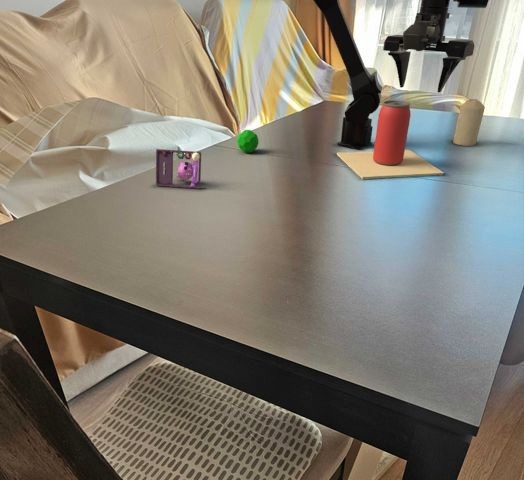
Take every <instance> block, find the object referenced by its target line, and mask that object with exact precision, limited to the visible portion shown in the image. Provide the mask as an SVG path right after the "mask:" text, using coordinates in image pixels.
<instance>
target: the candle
mask: <svg viewBox="0 0 524 480" xmlns="http://www.w3.org/2000/svg"><path fill="white" fill-rule="evenodd" d="M485 109H486V107H485V104H483V102H481V101H480V100H479V99H478V98H470V99H467V100H465V102H463V103H462V104H461V105H460V109H459V113H458V117H457V122H456V127H455V131H454V136H453V139H452V140H453V142H452V143H453V144H455V145H458V146H463V147H464V146H465V147H470V146H471V147H472V146H476V144H477V141H478V138H479V137H478V136H479V133H480V128H481V125H482V121H483V118H484V117H483V116H484V112H485Z"/></svg>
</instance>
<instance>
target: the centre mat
mask: <svg viewBox="0 0 524 480" xmlns="http://www.w3.org/2000/svg"><path fill="white" fill-rule="evenodd" d="M373 153H374V150H371V151H370V150H369V151H368V150H367V151H347V152H336V156H337V157H338V158H340V160H341V161H343V162H344V163H345V164H346V165H347V166H348V167H349V168H350V169H351V170H352V171H353V172H354V173H355V174H356V175H357V176H358V177H359V178H360V179H362V180H377V179H392V178H395V179H396V178H413V177H431V176H432V177H433V176H444V174H445V172H444V171H442V170H440V169H439V168H438V167H436V166H435V165H433V164H431V163H430V162H429V161H427V160H426V159H424V158H423V157H421V155H418V154H417V153H415V152H414V151H412V150H410V149H405V151H404V157H403V161H402V162H401V163H400V164H398V165H381V164H378V163H376V162H375V161H374V160H373Z"/></svg>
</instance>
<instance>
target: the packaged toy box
mask: <svg viewBox="0 0 524 480" xmlns="http://www.w3.org/2000/svg"><path fill="white" fill-rule="evenodd" d="M174 153H175V154H176V153H177V154H176V156H177V158H178V160H183V159H184V158H185V160H191V158H192V160H193V162H192V161H182V162H179V163H178V165H179V166H178V168H177V169H178V170H177V171H176V174H177V175H176V178H178V179H179V180H181V181H189V180H191V179H192V181H191V182H190V185H183V184H173V183H174V182H173V180H174V179H173V178H174ZM201 174H202V152H201V151H192V150H191V151H190V150H180V149H179V150H176V149H163V148H161V149H160V148H157V149H156V150H155V185H156V186H158V187H159V186H160V187H171V188H172V187H173V188H185V189H186V188H188V189H201V178H202V177H201V176H202V175H201ZM195 184H197V186H196V185H195Z"/></svg>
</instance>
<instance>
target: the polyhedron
mask: <svg viewBox="0 0 524 480" xmlns="http://www.w3.org/2000/svg"><path fill="white" fill-rule="evenodd" d="M236 144H237V147H238V149H240V150H241V151H242V152H243V153H245V154H250V153H252V152H253V151H255V150H256V149H257V148H258V146H259V136H258V135H257V134H256V132H254V131H252V130H251V129H244V130H242V132H240V133H239V134H238V135H237V137H236Z"/></svg>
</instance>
